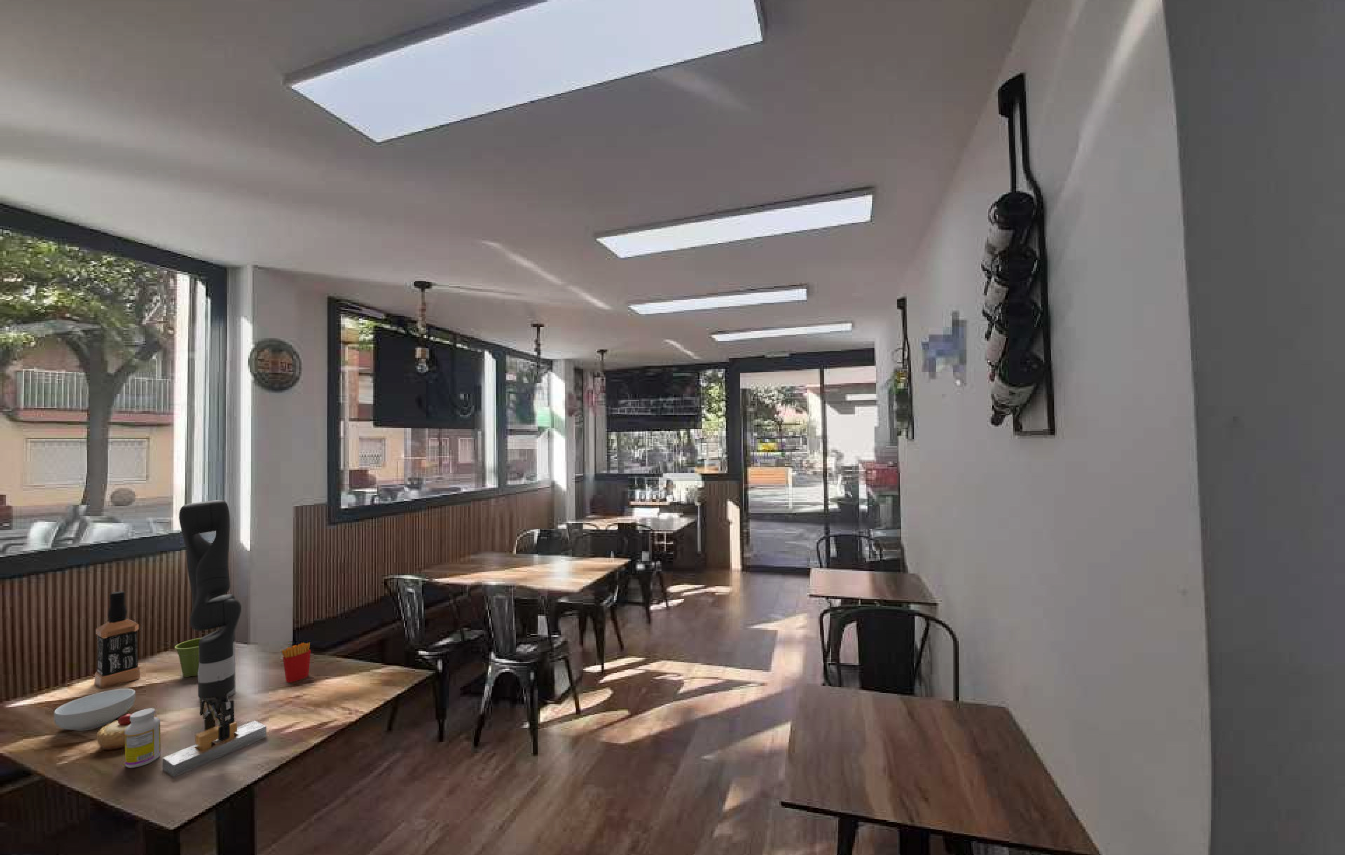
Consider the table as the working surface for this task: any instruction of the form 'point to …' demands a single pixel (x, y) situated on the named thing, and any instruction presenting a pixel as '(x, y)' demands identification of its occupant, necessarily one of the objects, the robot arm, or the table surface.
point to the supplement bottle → (142, 738)
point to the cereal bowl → (94, 710)
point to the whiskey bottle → (117, 646)
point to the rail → (212, 749)
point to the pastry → (114, 733)
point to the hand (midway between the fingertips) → (217, 735)
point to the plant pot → (189, 657)
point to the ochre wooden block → (212, 736)
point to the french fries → (296, 662)
